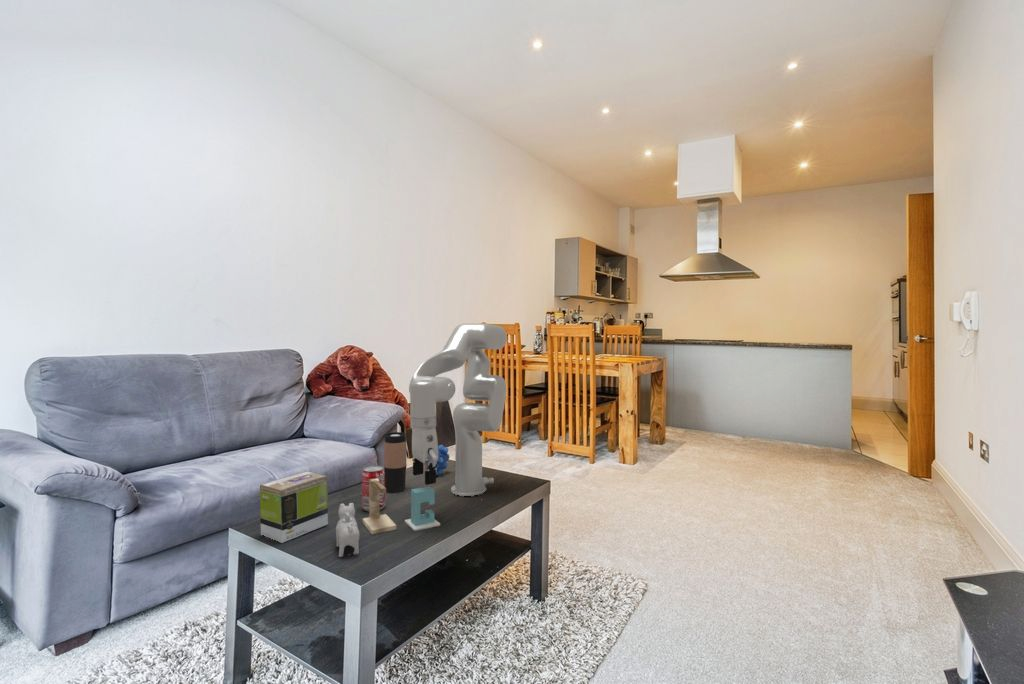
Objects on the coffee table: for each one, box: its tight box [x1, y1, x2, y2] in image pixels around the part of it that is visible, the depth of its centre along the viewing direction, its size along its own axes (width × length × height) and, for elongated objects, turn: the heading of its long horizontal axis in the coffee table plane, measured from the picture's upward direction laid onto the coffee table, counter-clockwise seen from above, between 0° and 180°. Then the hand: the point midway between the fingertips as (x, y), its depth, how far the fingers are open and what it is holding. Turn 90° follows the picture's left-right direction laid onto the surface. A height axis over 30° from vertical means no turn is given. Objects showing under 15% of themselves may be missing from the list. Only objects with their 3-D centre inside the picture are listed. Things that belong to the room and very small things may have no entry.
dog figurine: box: [335, 502, 361, 558], centre depth 127 cm, size 5×13×11 cm, turn 26°
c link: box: [410, 486, 436, 526], centre depth 143 cm, size 6×4×10 cm, turn 121°
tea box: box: [259, 470, 329, 544], centre depth 138 cm, size 15×10×15 cm, turn 149°
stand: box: [362, 478, 397, 535], centre depth 141 cm, size 7×11×12 cm, turn 32°
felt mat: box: [404, 518, 441, 532], centre depth 144 cm, size 8×8×1 cm
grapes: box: [427, 444, 450, 476], centre depth 193 cm, size 12×7×12 cm, turn 145°
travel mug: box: [383, 431, 407, 494], centre depth 174 cm, size 8×8×20 cm
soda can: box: [361, 465, 386, 513], centre depth 155 cm, size 7×7×13 cm
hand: (424, 479), depth 144 cm, fingers open, 9 cm apart
